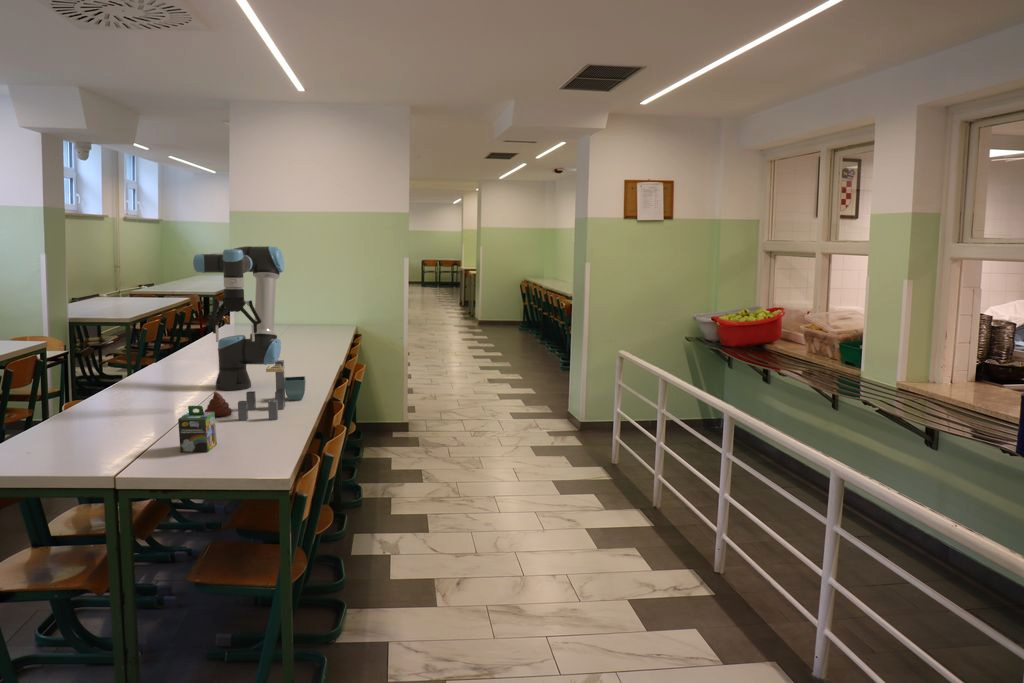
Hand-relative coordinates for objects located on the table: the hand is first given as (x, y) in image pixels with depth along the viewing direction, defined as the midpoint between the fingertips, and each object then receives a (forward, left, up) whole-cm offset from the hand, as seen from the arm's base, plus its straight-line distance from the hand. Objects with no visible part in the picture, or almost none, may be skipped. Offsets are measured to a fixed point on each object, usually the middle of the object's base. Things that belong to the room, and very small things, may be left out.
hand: (235, 341), depth 321 cm
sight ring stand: (+19, -6, -27) cm, 33 cm away
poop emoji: (-2, -15, -27) cm, 31 cm away
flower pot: (+19, +15, -27) cm, 36 cm away
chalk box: (+10, -61, -27) cm, 67 cm away
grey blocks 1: (+9, -13, -27) cm, 31 cm away
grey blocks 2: (+19, -11, -27) cm, 35 cm away
